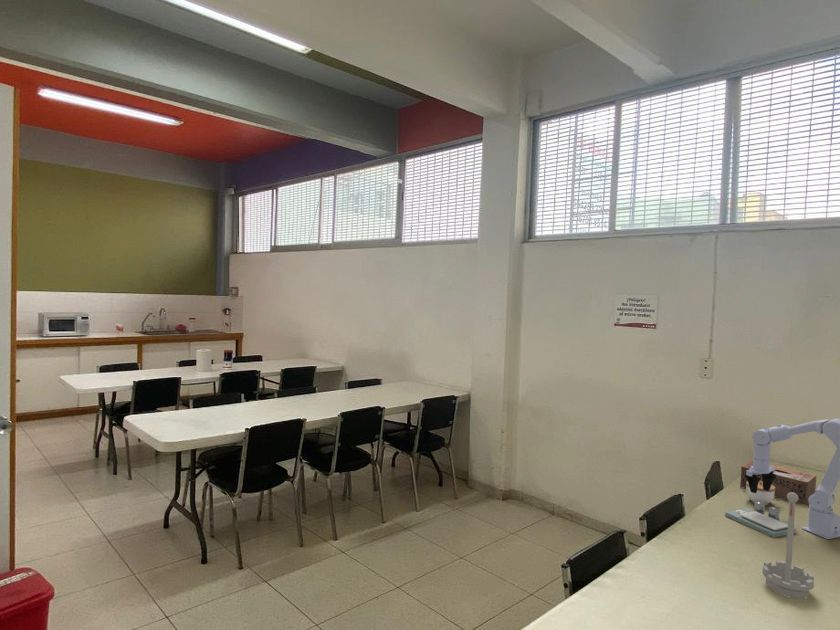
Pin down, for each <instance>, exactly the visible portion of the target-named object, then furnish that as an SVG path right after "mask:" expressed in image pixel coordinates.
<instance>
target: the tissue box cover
mask: <svg viewBox="0 0 840 630" xmlns="http://www.w3.org/2000/svg"><path fill="white" fill-rule="evenodd" d="M751 466H753V460H750V461H748V462H747V463H745V464H743V465H741V467H740V469H741V470H740V483H739V485H740V486H739V487H740V488H742V487H744V489H746V482H747V479H746V477H745V473H746V470H749V469H751ZM770 467H773V468H775V473H773V474H776V475H777V476H776V478H775V479H774V481H773V482H772V485H773V486H775V495H774V497H776V496H777V498H780V499H784V500H788V499H787V494H788V493H790V492H793V493H796V494H797V495H798V498H799V499H798V501H797V502H796V503H799V504H804V505H809V502H808V499H809V497H810V496H811V495H812V494H814V493H815V491H816V489H817V488H816V486H817V475H816V474H811V473H807V472H802V471H798V470H796V469H795V470H794V469H790V468H785V467H781V466H777V465H773V464H770ZM756 476H757V477H758V478H761V479H760V481H762V482H763V480H762V475H761V474H759V475H756ZM788 501H789V500H788Z"/></svg>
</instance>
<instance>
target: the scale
mask: <svg viewBox="0 0 840 630" xmlns="http://www.w3.org/2000/svg"><path fill="white" fill-rule="evenodd" d="M724 516H725V517H726V518H729V519H731V520H733V521H736V522H738V523H740V524H743V525H744V526H747V527H749V528H752V529H753V530H756V531H758V532H761V533H762V534H764V535H766V536H770V537H772V538H775V539H776V538H779V537H784V536H787V532H788V523H784V522H783V521H780V520H779V521H778V520H775V519H773V518H771V517H768V516H767V515H766V514H764V515H763V514H761V513H759V512H756V511H754V510H752V509H750V508H747V507H746V508H740V509H736V510H729V511H725V512H724ZM796 530H797V529H796V528H795V527H794V533H793V534H796Z"/></svg>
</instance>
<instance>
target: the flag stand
mask: <svg viewBox="0 0 840 630" xmlns="http://www.w3.org/2000/svg"><path fill="white" fill-rule="evenodd" d="M787 499H788V503H789V505H788V517H787V525H788V532H787V535H786V550H785V561H783V560H775V563H772V561H770V560H766V561H764V562H763V565H762V575H763V577H764V578H765V585H766V586H767V587H768V588H769V589H770V590H771V589H772V592H775V593H776V594H779V595H781V594H782V596H784V595H785V597H787V596H790V597H789V598H791V597H794V598H793V599H798V598H802V599H806V598H805V597H807V598H809V597H810V591H811V590H812V589H814V587H815V576H814V575H813V574H812V573H811V572H804V570H805V569H804V568H803V567H801V566H798V565H796V564H793V562H792V561H793V546H794V534H795V533H794V528H795V516H796V515H795V512H796V503H798V502H797V501H798V499H799V498H798V495H797V494H796V493H793V492H790V493H788V494H787ZM787 499H786V500H787ZM792 564H793V565H792ZM792 566H793V567H792Z"/></svg>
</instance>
